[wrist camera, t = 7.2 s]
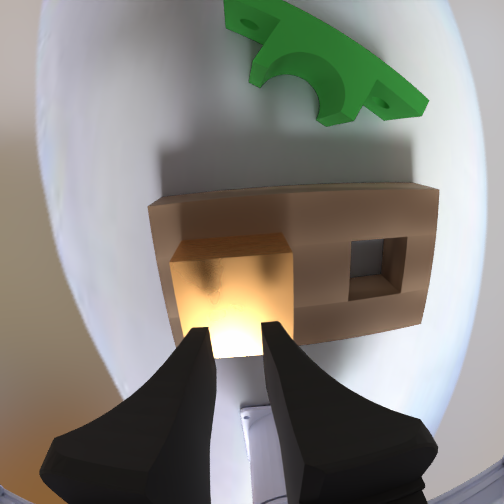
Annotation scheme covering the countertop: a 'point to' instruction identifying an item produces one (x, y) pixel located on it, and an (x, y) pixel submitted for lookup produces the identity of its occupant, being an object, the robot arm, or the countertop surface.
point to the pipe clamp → (322, 62)
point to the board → (318, 248)
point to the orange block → (234, 289)
